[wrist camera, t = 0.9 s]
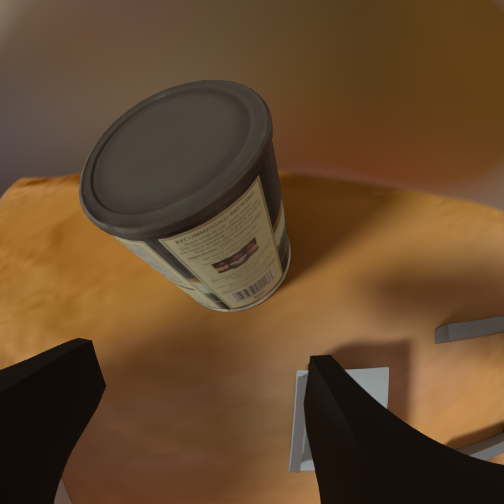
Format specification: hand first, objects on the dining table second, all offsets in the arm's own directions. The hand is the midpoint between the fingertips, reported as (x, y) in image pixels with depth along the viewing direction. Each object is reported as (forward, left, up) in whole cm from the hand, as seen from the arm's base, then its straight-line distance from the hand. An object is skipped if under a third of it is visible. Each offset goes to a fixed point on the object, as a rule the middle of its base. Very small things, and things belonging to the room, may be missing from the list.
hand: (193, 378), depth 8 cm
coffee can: (+10, +3, -14) cm, 17 cm away
